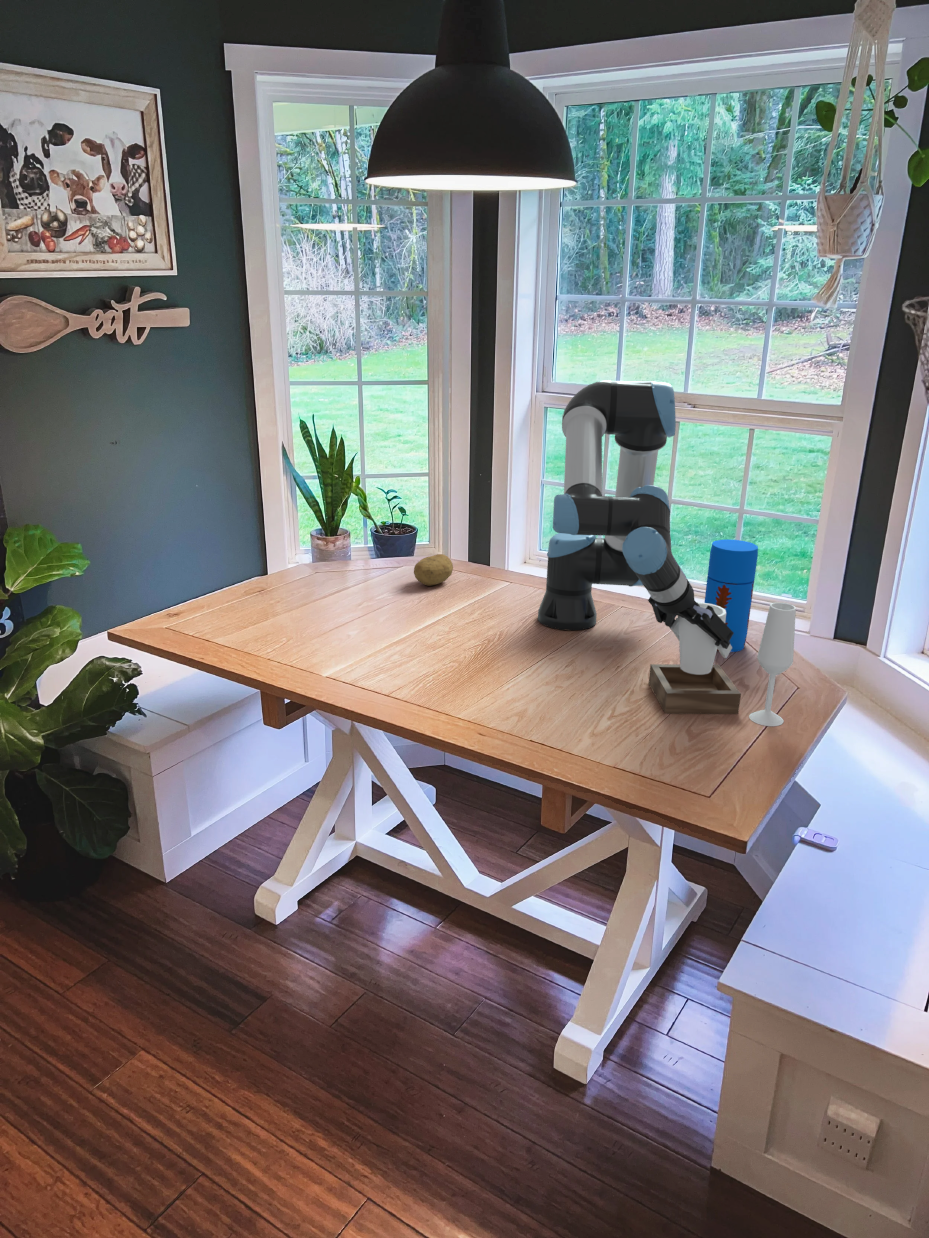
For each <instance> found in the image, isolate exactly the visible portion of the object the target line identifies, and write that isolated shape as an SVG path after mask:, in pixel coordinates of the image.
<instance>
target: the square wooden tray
mask: <svg viewBox="0 0 929 1238" xmlns="http://www.w3.org/2000/svg"><path fill="white" fill-rule="evenodd" d="M649 667H650V668H649V675H648V676H649V677H648V684H649V685H648V686H649V687H650V688H651V690H652V693H654V696H655V697H656V700H657V701H658V704H659V705H660V706H661V709H662V710H663V712H664V714H665V715H668V714H672V715H675V714H677V715H680V714H681V715H682V714H685V715H686V714H687V715H688V714H689V715H691V714H692V715H701V714H702V715H704V714H705V715H709V714H710V715H713V714H714V715H722V714H723V715H731V714H732V715H734V714H735V715H736V714H737V715H738V714H739V712H740V704H741V695H742V694H741V692H740V690H739V689H738V688H737V686H736V685H735V684H734V683H733V681H732V680H731V679H730V677H729V676H728V675H727V673H726V672H725V671H724V669H723V668H722V667H721V666H720V664H713V667H712V669H711V672H710V673H708V674H704V675H696V674H690V673H687V672H684V671H683V670H681V668H680V663H679V664H675V663H674V664H672V663H671V664H666V663H665V664H664V663H662V664H659V663H657V664H656V663H655V664H654V663H653V664H652V663H651V664H650V666H649Z"/></svg>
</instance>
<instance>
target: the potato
mask: <svg viewBox="0 0 929 1238" xmlns="http://www.w3.org/2000/svg"><path fill="white" fill-rule="evenodd" d="M453 570H454V564H453V562H452V560H451V559H450V557H449V556H447V555H445V554H443V553H441V554H438V553H437V554H435V555H430V556H426V557H423V558H421V559H420V560H419V561H418V562H417V563H415V565H414V568H413V574H414V577H415V579H416V580H417V581H418V582H419V583H421V584H423V585H425V586H427V587H430V586H436V585H439V584H441V583H443V582H445V581H447V580H448V579H449V578H450V577H451V576H452V573H453Z"/></svg>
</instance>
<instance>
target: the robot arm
mask: <svg viewBox="0 0 929 1238" xmlns="http://www.w3.org/2000/svg"><path fill="white" fill-rule="evenodd" d="M675 397H676V396H675V391H674V388H673V386H672V385H671V384H670V383H667V382H661V381H660V382H658V381H654V380H651V381H631V380H630V381H629V380H627V381H626V380H625V381H624V380H599V381H596V382H593V383H590V384H589V385H587V386H585V387H583V388H582V389H581V390H579V391H578V392H576V394H575V395H574V396H572V397H571V399H570V400H569V401H568V403H567V404H566V407H565V408H564V411H563V414H562V418H561V431H562V433H563V435H564V437H565V454H564V455H565V457H564V478H563V479H564V482H563V484H564V485H563V493H562V494H556V495H555V496H554V500H553V513H552V514H553V515H552V516H553V517H552V529H553V531H554V532H555V534H554V535H552V536H551V537H550V539H549V542H548V548H547V549H548V550H547V552H546V556H547V566H546V567H547V568H546V582H545V583H546V587H545V593H544V595H543V597H542V599H541V600H542V601H541V603H540V605H539V607H538V611H537V621H538V622H539V623H540V624H541V625H543V626H545V627H549V628H550V629H556V630H561V631H562V630H563V631H581V630H587V629H590V628H592V627H593V626H595V625H596V624H597V614H598V613H597V611H596V607H595V603H594V599H593V594H592V590H593V589H592V587H593V585H607V586H608V585H609V586H628V587H640V586H641V587H642V586H643V587H644V588H645V589H646V592H647V593H648V594H649V595H650V597H649V598H648V599H647V601H648V603H649V604H650V605H651V607H652V611H653V614H654V616H655V620H656V622H657V623H659V624H663V623H664V625H665V626H666V627H669V629H670V630H671V631H672V632H673V634H674V635H675V637H676V638H677V640H678V641H679V621H678V616H681V617H682V618H685V619H686V620H687V621H689V622H690V623H691V624H696V625H697V626H698V627H700V628H701V629H702V630H703V631H705V632H706V633H707V634H708V635H709V636H711V637H712V638H713V639H714V641H713V642H714V644H715V646H716V647H717V649H718V650H719V651H718V652H719V653H720V656H722V658H724V659H727V658H728V656H729V655H730V653H731V652H730V651H731V649H732V646H731V644H730V639H731V637H732V636H733V634H734V633H733V632H732V631H731V629H730V628H729V627H728V626H727V625H726V624H725V623H724V622H723V621H722V620H721V619H720V618H719V616H718V615H717V614H716V613H715V611H714V609H713V608H712V607H711V606H707V608H706V609H705V608H702V607H700V605H699V604H698V603H697V602H696V600H695V591H694V588H693V586H692V584H691V582H690V581H689V579H688V578H687V575H686V574H685V572H684V571H683V570H682V568H681V566H680V565H679V564H678V561H677V560H676V558H675V557H674V555H673V551H672V538H671V508H670V501H669V496H668V494H667V492H666V491H665V489H663V488H662V487H660V486H659V485H654V484H655V476H656V470H657V469H656V468H657V461H658V456H659V451H660V450H661V449H663V448H664V447H665V446H666V444H667V440H668V438H672V437H674V436H675V434H676V426H677V425H676V417H677V416H676V400H675V399H676V398H675ZM604 435H610V436H611V435H612V436H613V435H614V442H615V444H616V445H618V446H619V448H620V450H619V456H618V457H619V458H618V469H617V477H616V485H615V496H610V495H609V496H608V495H607V496H606V495H603V442H602V441H603V437H604ZM597 536H603V537H599V538H598V537H597ZM693 617H694V618H693ZM692 618H693V619H692Z"/></svg>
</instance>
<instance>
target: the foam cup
mask: <svg viewBox="0 0 929 1238" xmlns="http://www.w3.org/2000/svg"><path fill="white" fill-rule="evenodd" d="M697 603H698V604H699V605H700V607H702V608H705V609H706V608H707V606H711V607H712V608H713V609H714V611H715V613H716V614H717V615H718V616H719V618H720V619H721V620H722V621H723V622H724V623H725V620H726V610H725V609H723V608H722V607H720V606H717V605H713V604H708V603H704V602H701V601H700V602H697ZM677 618H678V621H679V640H678V641H679V643H678V644H679V664H680V668H681V670H683V671H684V672H687V673H690V674H696V675H704V674H708V673H710V672H711V669H712V667H713V665H714V663H715V659H716V655H717V652H718V651H717V647H716V646H715V644H714V642H713V641H714V639H713V638H712V637H711V636H709V635H708V634H707V633H706V632H705V631H703V630H702V629H701V628H700V627H698V626H697V625H696V624H691V623H690V622H689V621H687V620H686V619H685V618H682V617H681V616H677ZM693 618H694V617H693ZM693 618H692V619H693Z"/></svg>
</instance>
